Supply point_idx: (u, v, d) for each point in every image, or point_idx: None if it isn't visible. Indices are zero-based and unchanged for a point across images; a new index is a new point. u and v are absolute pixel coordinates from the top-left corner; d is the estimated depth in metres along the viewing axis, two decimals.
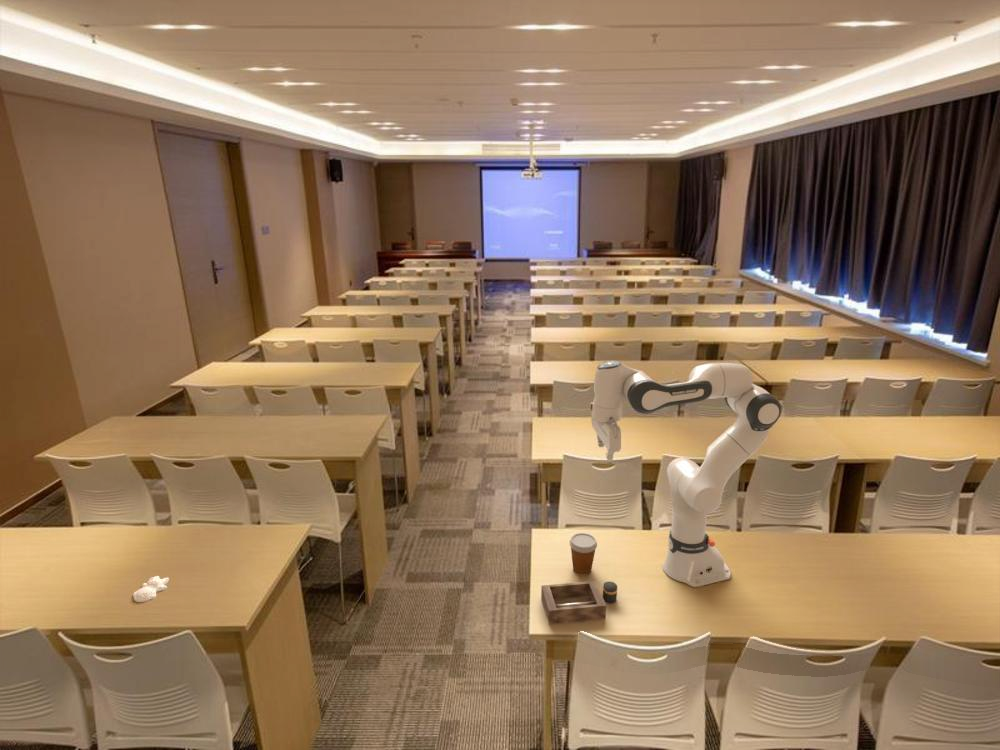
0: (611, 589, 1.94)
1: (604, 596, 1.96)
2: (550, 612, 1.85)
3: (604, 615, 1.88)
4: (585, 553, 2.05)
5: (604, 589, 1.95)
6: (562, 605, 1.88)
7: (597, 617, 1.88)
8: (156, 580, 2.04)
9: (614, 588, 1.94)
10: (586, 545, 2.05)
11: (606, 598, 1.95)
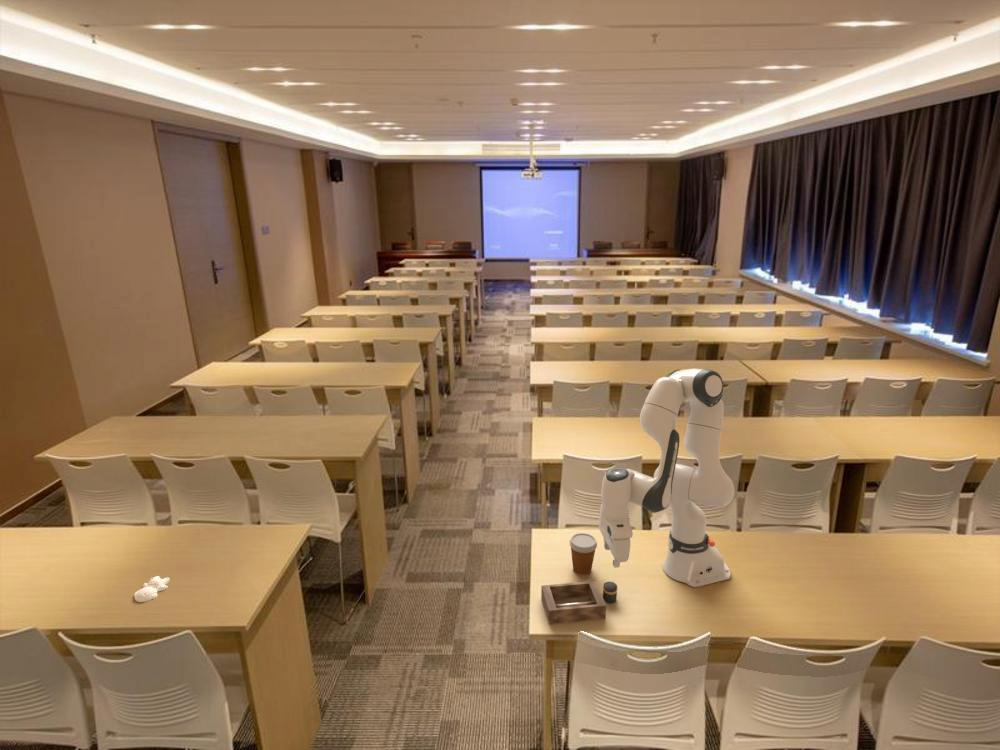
0: (611, 589, 1.94)
1: (604, 596, 1.96)
2: (550, 612, 1.85)
3: (604, 615, 1.88)
4: (585, 553, 2.05)
5: (604, 589, 1.95)
6: (562, 605, 1.88)
7: (597, 617, 1.88)
8: (157, 580, 2.04)
9: (614, 588, 1.94)
10: (586, 545, 2.05)
11: (606, 598, 1.95)
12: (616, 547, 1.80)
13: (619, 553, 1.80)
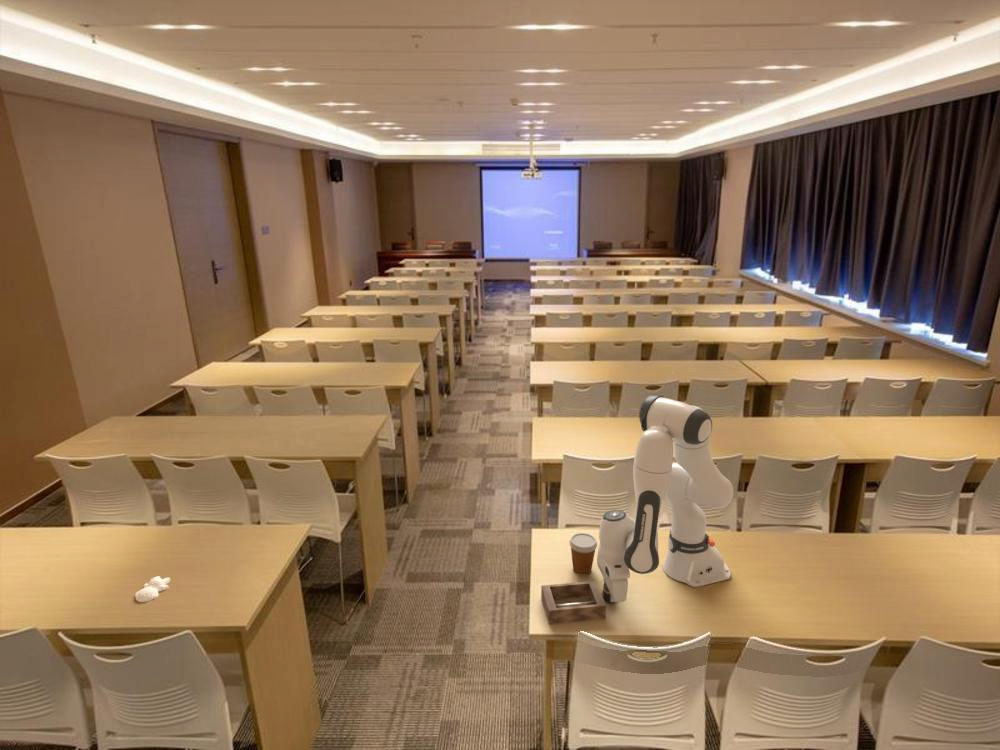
0: None
1: (604, 596, 1.96)
2: (550, 612, 1.85)
3: (604, 615, 1.88)
4: (585, 553, 2.05)
5: (604, 589, 1.95)
6: (562, 605, 1.88)
7: (597, 617, 1.88)
8: (158, 580, 2.04)
9: None
10: (586, 545, 2.05)
11: (606, 598, 1.95)
12: (614, 588, 1.84)
13: (617, 593, 1.85)
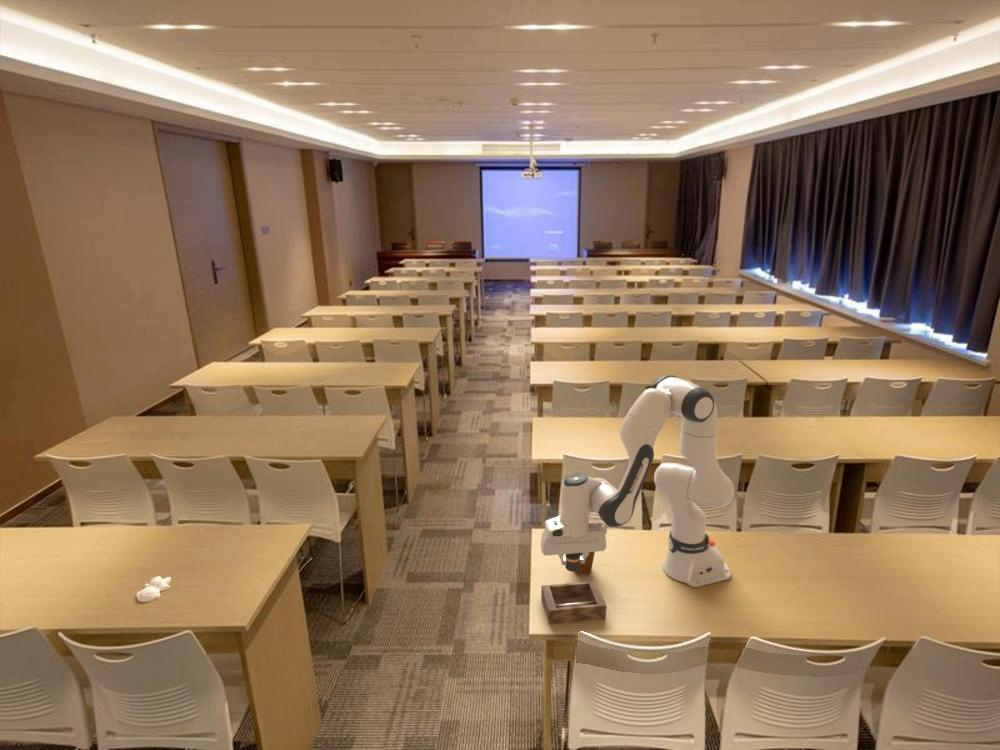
0: None
1: None
2: (550, 612, 1.85)
3: (604, 615, 1.88)
4: None
5: None
6: (562, 605, 1.88)
7: (597, 617, 1.88)
8: (159, 580, 2.04)
9: (569, 555, 1.87)
10: None
11: None
12: (542, 534, 1.87)
13: (541, 541, 1.87)
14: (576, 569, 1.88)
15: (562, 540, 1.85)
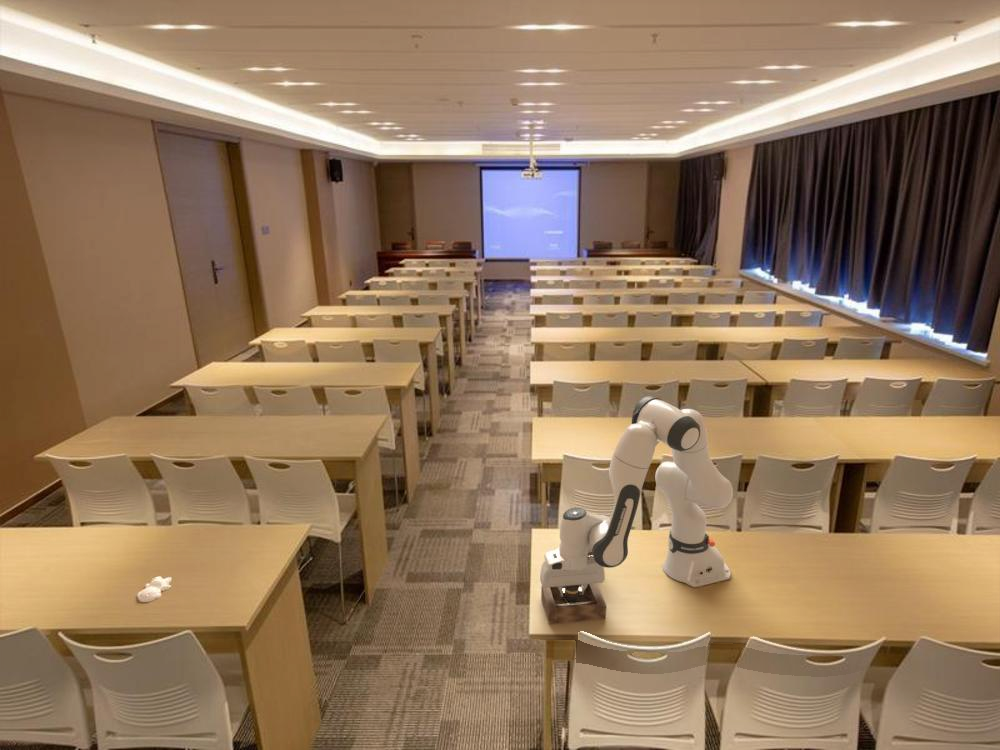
0: None
1: None
2: (550, 612, 1.85)
3: (604, 615, 1.88)
4: None
5: None
6: (562, 605, 1.88)
7: (597, 617, 1.88)
8: (159, 580, 2.04)
9: (568, 587, 1.91)
10: None
11: None
12: None
13: (541, 573, 1.90)
14: (575, 600, 1.91)
15: (561, 572, 1.88)
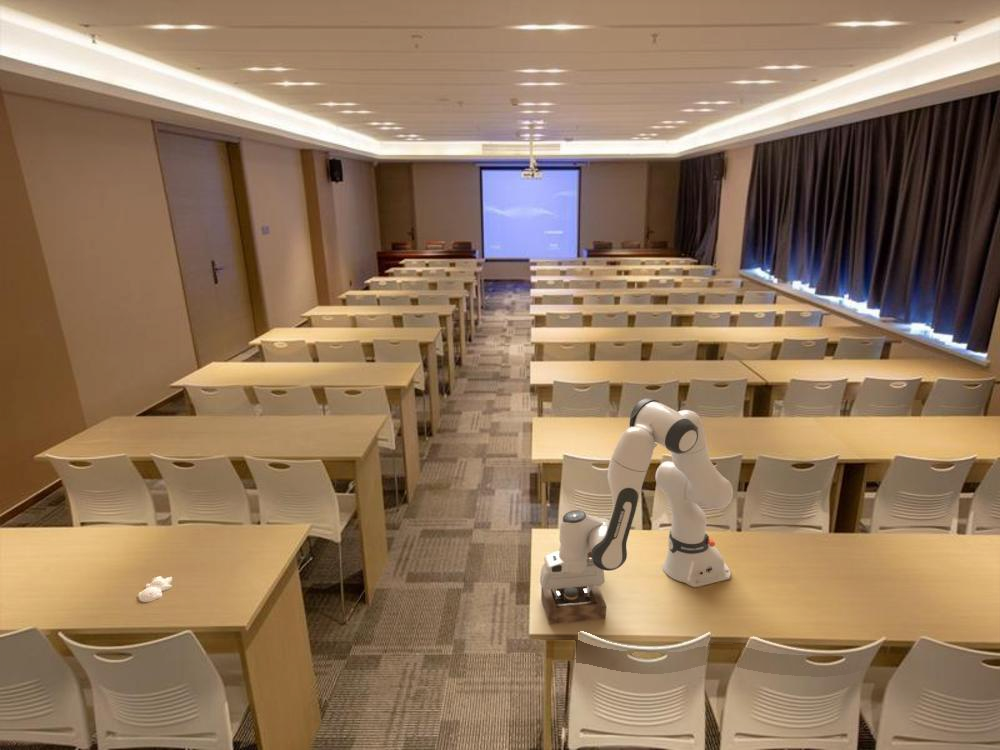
0: (565, 591, 1.93)
1: None
2: (550, 612, 1.85)
3: (604, 615, 1.88)
4: None
5: None
6: (562, 605, 1.88)
7: (597, 617, 1.88)
8: (160, 580, 2.04)
9: (567, 593, 1.92)
10: None
11: None
12: None
13: (541, 575, 1.91)
14: None
15: (561, 575, 1.89)
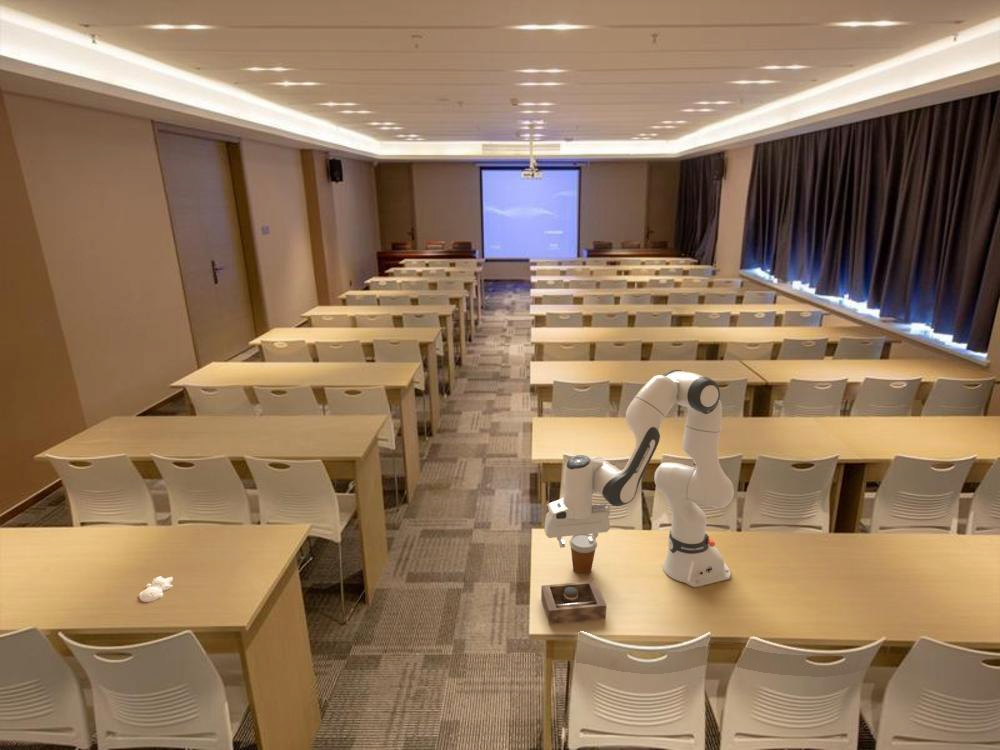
0: (565, 591, 1.93)
1: None
2: (550, 612, 1.85)
3: (604, 615, 1.88)
4: (585, 553, 2.05)
5: None
6: (562, 605, 1.88)
7: (597, 617, 1.88)
8: (161, 579, 2.04)
9: (567, 593, 1.92)
10: (586, 545, 2.05)
11: None
12: None
13: (545, 523, 1.87)
14: None
15: (566, 522, 1.85)
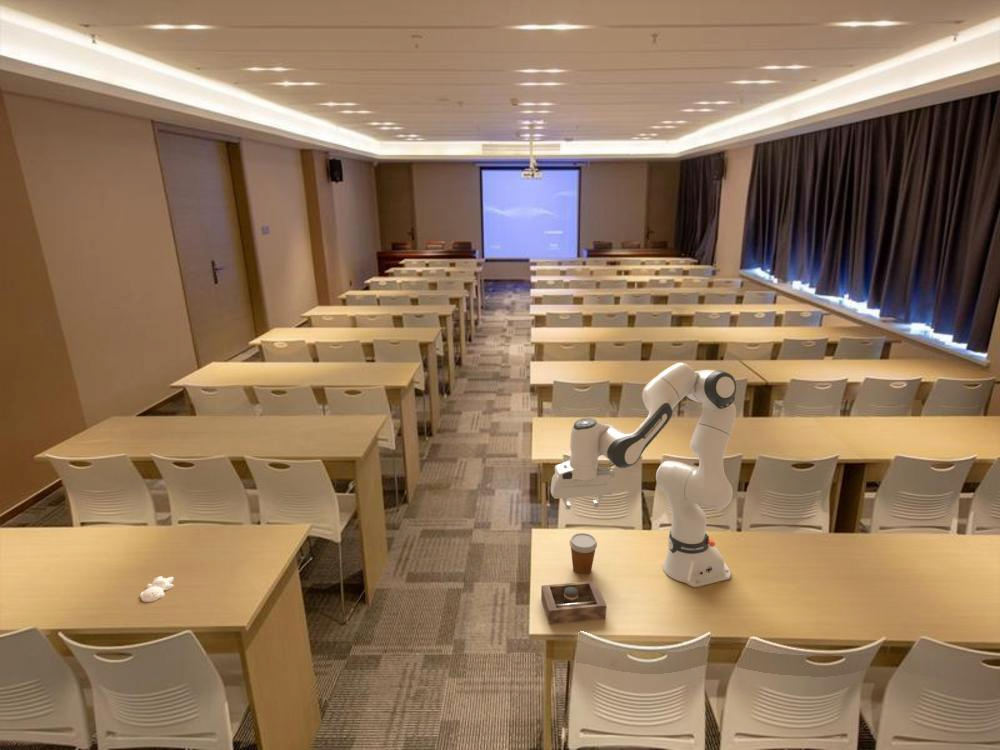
0: (565, 591, 1.93)
1: None
2: (550, 612, 1.85)
3: (604, 615, 1.88)
4: (585, 553, 2.05)
5: None
6: (562, 605, 1.88)
7: (597, 617, 1.88)
8: (162, 579, 2.04)
9: (567, 593, 1.92)
10: (586, 545, 2.05)
11: None
12: (552, 478, 1.93)
13: (551, 485, 1.93)
14: None
15: (572, 483, 1.91)
